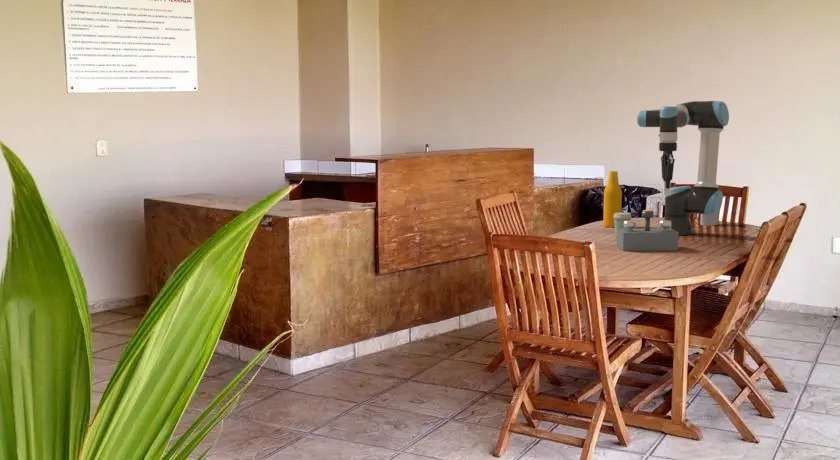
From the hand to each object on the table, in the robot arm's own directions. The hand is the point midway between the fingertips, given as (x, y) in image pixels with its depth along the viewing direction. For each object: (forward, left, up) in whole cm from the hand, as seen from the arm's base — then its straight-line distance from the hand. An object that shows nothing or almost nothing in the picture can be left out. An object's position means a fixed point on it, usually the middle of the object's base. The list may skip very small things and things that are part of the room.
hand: (666, 195), depth 384 cm
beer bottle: (+8, -69, -24) cm, 73 cm away
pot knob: (+8, 0, -18) cm, 20 cm away
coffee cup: (+12, -30, -24) cm, 40 cm away
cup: (-44, -72, -24) cm, 87 cm away
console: (+8, 0, -24) cm, 25 cm away
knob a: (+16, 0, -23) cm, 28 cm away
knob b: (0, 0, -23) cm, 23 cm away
